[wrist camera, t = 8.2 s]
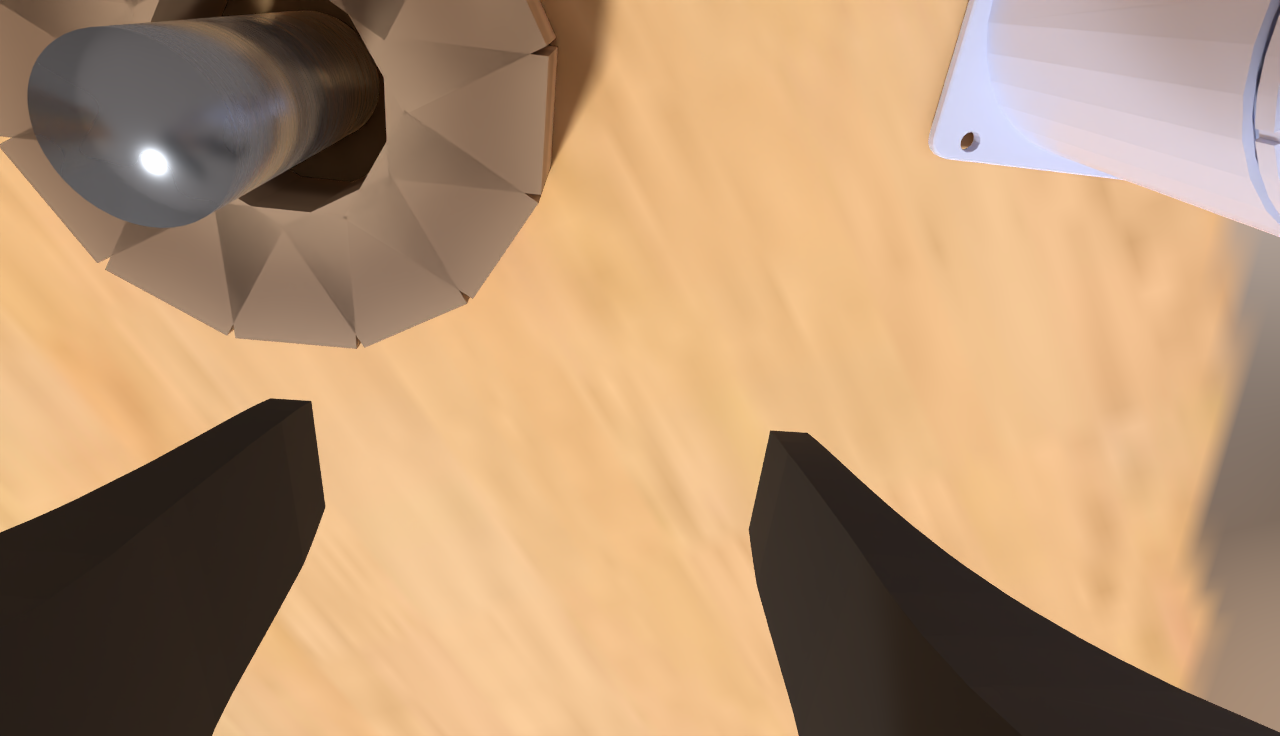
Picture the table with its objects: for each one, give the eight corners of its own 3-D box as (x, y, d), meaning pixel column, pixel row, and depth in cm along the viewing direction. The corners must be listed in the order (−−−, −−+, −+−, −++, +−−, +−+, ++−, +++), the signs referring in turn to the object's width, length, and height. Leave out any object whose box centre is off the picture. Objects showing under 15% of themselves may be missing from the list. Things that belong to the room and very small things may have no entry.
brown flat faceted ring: (570, -173, 16) (562, -206, 13) (541, 317, 21) (531, 364, 19) (-6, -262, 15) (-140, -316, 12) (120, 278, 20) (47, 321, 18)
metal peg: (379, 22, 18) (226, 47, 11) (379, 146, 19) (243, 240, 12) (252, -1, 17) (6, 8, 10) (261, 127, 19) (50, 212, 12)
